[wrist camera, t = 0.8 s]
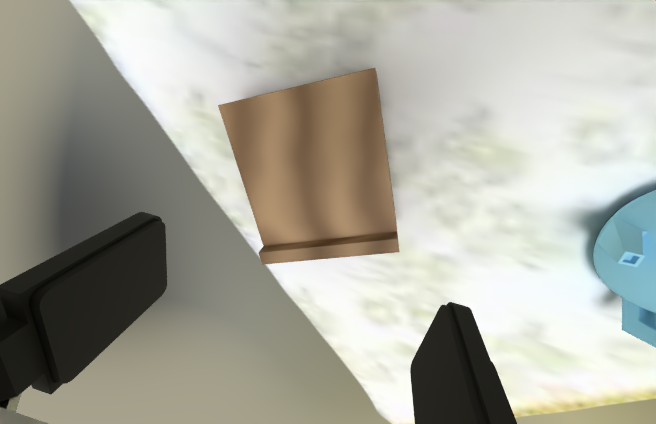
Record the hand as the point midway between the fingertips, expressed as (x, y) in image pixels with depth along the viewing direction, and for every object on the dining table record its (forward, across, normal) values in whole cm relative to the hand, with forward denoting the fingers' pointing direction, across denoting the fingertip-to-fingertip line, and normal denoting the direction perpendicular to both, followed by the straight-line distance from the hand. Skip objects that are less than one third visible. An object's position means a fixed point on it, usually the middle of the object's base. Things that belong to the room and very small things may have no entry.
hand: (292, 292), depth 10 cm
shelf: (+26, +3, +3) cm, 26 cm away
